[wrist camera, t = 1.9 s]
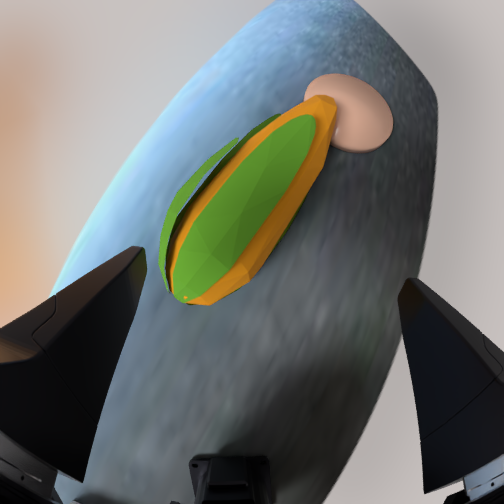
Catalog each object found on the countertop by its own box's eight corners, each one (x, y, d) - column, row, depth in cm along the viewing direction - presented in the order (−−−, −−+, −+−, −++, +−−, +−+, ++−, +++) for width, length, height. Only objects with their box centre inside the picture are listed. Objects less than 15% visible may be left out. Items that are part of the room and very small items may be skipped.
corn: (109, 254, 15) (302, 41, 18) (142, 266, 22) (282, 95, 26) (221, 339, 15) (384, 95, 18) (220, 323, 22) (346, 139, 26)
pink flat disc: (397, 156, 25) (403, 150, 24) (310, 151, 25) (313, 145, 24) (375, 86, 27) (379, 79, 26) (296, 77, 26) (298, 70, 25)
